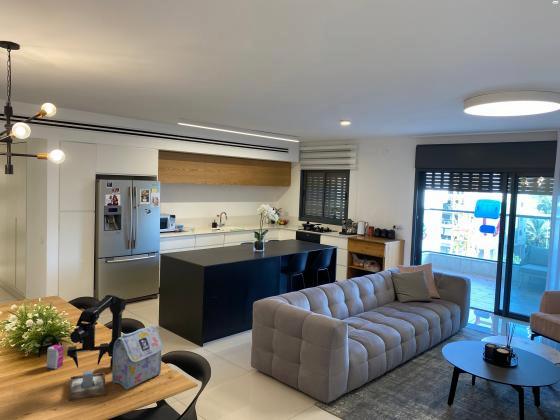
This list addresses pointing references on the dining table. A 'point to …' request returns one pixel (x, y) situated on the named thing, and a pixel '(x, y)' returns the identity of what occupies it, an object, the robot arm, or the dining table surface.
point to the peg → (87, 378)
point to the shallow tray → (88, 392)
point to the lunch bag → (136, 357)
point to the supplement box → (54, 357)
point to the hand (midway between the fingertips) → (87, 366)
